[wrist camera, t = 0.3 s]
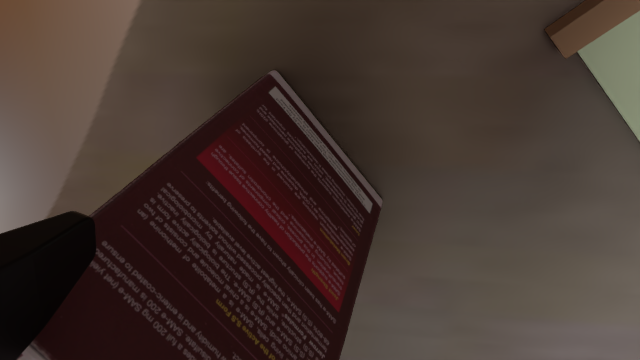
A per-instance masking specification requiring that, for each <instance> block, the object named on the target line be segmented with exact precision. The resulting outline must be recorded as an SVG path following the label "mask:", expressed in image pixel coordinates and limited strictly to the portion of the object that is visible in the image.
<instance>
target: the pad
mask: <svg viewBox="0 0 640 360" xmlns="http://www.w3.org/2000/svg"><path fill="white" fill-rule="evenodd" d="M577 52H578V54H579V55H580V57H581V58H582V60H583V61H584V62H585V64H586V65H587V67H588V68H589V70H590V71H591V72H592V74H593V75H594V77H595V78H596V80H597V81H598V83H599V84H600V85H601V87H602V88H603V90H604V91H605V93H606V94H607V95H608V97H609V98H610V100H611V101H612V103H613V104H614V106H615V107H616V108H617V110H618V111H619V113H620V114H621V116H622V117H623V119H624V120H625V121H626V123H627V124H628V126H629V127H630V129H631V130H632V131H633V133H634V134H635V136H636V137H637V139H638V140H639V142H640V11H638V12H637V13H635V14H634V15H632V16H631V17H629V18H628V19H626V20H625V21H623V22H622V23H620V24H619V25H617V26H615V27H614V28H612V29H611V30H609V31H608V32H606V33H605V34H603V35H602V36H600V37H599V38H597V39H596V40H594V41H592V42H591V43H589V44H588V45H586V46H585V47H583V48H582V49H580V50H579V51H577Z"/></svg>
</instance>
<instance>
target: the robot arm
mask: <svg viewBox="0 0 640 360" xmlns="http://www.w3.org/2000/svg"><path fill="white" fill-rule="evenodd" d="M96 249H97V246H96V231H95V222H94V220H93V218H91V217H89V216H87V215H84V214H81V213H79V212H76V211H70V212H66V213H63V214H60V215H57V216H54V217H51V218H47V219H44V220H41V221H38V222H35V223H32V224H29V225H26V226H23V227H20V228H17V229H13V230H10V231H7V232H4V233H1V234H0V360H17V358H18V357H19V356H20V355H21V354H22V353H23V352H24V351H25V349H26V348H27V347H28V346H29V345H30V344H31V343H32V341H33V340H34V339H35V338H36V337H37V336H38V334H39V333H40V332H41V331H42V330H43V328H44V327H45V326H46V325H47V323H48V322H49V321H50V319H51V318H52V317H53V315H54V314H55V313H56V311H57V310H58V308H59V307H60V306H61V304H62V303H63V301H64V300H65V299H66V297H67V296H68V294H69V293H70V292H71V290H72V289H73V287H74V286H75V285H76V283H77V282H78V280H79V279H80V278H81V276H82V275H83V273H84V272H85V271H86V269H87V268H88V266H89V265H90V264H91V262H92V261H93V259H94V257H95V254H96Z"/></svg>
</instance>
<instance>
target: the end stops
mask: <svg viewBox="0 0 640 360" xmlns="http://www.w3.org/2000/svg"><path fill="white" fill-rule="evenodd" d="M638 11H640V0H585V1H584V2H583V3H581V4H580V5H578V6H577V7H575V8H574V9H573V10H571V11H570V12H568V13H567V14H565V15H564V16H563V17H561V18H560V19H558V20H557V21H555V22H554V23H553V24H551V25H550V26H548V27H547V28H545V29H544V30H545V31H546V33H547V34H548V36H549V37H550V38H551V40H552V41H553V43H554V44H555V45H556V47H557V48H558V50H559V51H560V52H561V54H562V55H563V56H564V58H565V59H566V58H568V57H569V56H571V55H573V54H574V53H576V52H577V51H579V50H580V49H582V48H583V47H585V46H586V45H588V44H589V43H591V42H592V41H594V40H596V39H597V38H599V37H600V36H602V35H603V34H605V33H606V32H608V31H609V30H611V29H612V28H614V27H615V26H617V25H619V24H620V23H622V22H623V21H625V20H626V19H628V18H629V17H631V16H632V15H634V14H635V13H637V12H638Z"/></svg>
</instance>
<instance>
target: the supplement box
mask: <svg viewBox="0 0 640 360" xmlns="http://www.w3.org/2000/svg"><path fill="white" fill-rule="evenodd" d="M382 203H383V200H382V199H381V198H380V196H379V195H378V194H377V193H376V191H375V190H374V189H373V188H372V187H371V185H370V184H369V183H368V182H367V181H366V179H365V178H364V177H363V176H362V174H361V173H360V172H359V171H358V170H357V168H356V167H355V166H354V165H353V163H352V162H351V161H350V160H349V159H348V157H347V156H346V155H345V154H344V152H343V151H342V150H341V149H340V147H339V146H338V145H337V144H336V143H335V141H334V140H333V139H332V138H331V136H330V135H329V134H328V133H327V132H326V130H325V129H324V128H323V127H322V125H321V124H320V123H319V122H318V120H317V119H316V118H315V117H314V116H313V114H312V113H311V112H310V111H309V109H308V108H307V107H306V106H305V104H304V103H303V102H302V101H301V99H300V98H299V97H298V96H297V95H296V93H295V92H294V91H293V90H292V89H291V87H290V86H289V85H288V84H287V83H286V81H285V80H284V79H283V78H282V76H281V75H280V74H279V73H278V72H277V71H276V70H272V71H270V72H269V73H267V74H266V75H264V76H263V77H261V78H260V79H259V80H257V81H256V82H255V83H254V84H252V85H251V86H250V87H249V88H247V89H246V90H245V91H244V92H242V93H241V94H240V95H238V96H237V97H236V98H235V99H234V100H232V101H231V102H230V103H229V104H227V105H226V106H224V107H223V108H222V109H221V110H220V111H218V112H217V113H216V114H214V115H213V116H212V117H211V118H210V119H208V120H207V121H206V122H204V123H203V124H202V125H201V126H200V127H198V128H197V129H196V130H194V131H193V132H192V133H191V134H190V135H188V136H187V137H186V138H185V139H183V140H182V141H181V142H179V143H178V144H177V145H176V146H175V147H174V148H172V149H171V150H170V151H169V152H167V153H166V154H165V155H163V156H162V157H161V158H160V159H158V160H157V161H156V162H155V163H154V164H152V165H151V166H150V167H149V168H148V169H146V170H145V171H144V172H143V173H142V174H140V175H139V176H138V177H137V178H135V179H134V180H133V181H132V182H130V183H129V184H128V185H127V186H126V187H124V188H123V189H122V190H121V191H120V192H118V193H117V194H116V195H114V196H113V197H112V198H111V199H110V200H108V201H107V202H106V203H105V204H103V205H102V206H101V207H100V208H98V209H97V210H96V211H95V212H93V213H92V214H91V215H89V217H91V218H93V220H94V222H95V231H96V246H97V249H96V254H95V257H94V259H93V261H92V262H91V264H90V265H89V266H88V268H87V269H86V271H85V272H84V273H83V275H82V276H81V278H80V279H79V280H78V282H77V283H76V285H75V286H74V287H73V289H72V290H71V292H70V293H69V294H68V296H67V297H66V299H65V300H64V301H63V303H62V304H61V306H60V307H59V308H58V310H57V311H56V313H55V314H54V315H53V317H52V318H51V319H50V321H49V322H48V323H47V325H46V326H45V327H44V328H43V330H42V331H41V332H40V333H39V334H38V336H37V337H36V338H35V339H34V340H33V341H32V343H31V344H30V345H29V346H28V347H27V348H26V349H25V351H24V352H23V353H22V354H21V355H20V356H19V357H18V358H17V360H339V359H340V355H341V351H342V348H343V345H344V341H345V337H346V334H347V330H348V326H349V323H350V319H351V315H352V312H353V307H354V304H355V300H356V297H357V293H358V289H359V286H360V282H361V279H362V275H363V271H364V268H365V264H366V261H367V257H368V253H369V250H370V246H371V243H372V239H373V235H374V232H375V228H376V225H377V222H378V218H379V214H380V210H381V207H382Z"/></svg>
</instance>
